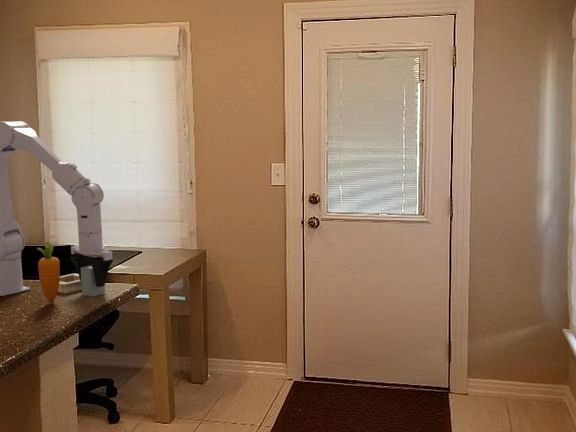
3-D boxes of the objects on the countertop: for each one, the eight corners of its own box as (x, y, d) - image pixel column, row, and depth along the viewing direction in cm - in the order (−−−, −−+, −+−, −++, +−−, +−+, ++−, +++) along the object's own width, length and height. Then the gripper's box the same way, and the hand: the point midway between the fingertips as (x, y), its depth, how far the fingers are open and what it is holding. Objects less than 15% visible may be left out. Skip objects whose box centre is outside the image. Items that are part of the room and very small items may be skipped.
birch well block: (45, 288, 171) (45, 279, 171) (75, 282, 178) (74, 273, 178) (65, 294, 165) (64, 284, 165) (95, 286, 172) (94, 277, 172)
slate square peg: (82, 294, 165) (80, 267, 164) (95, 291, 168) (93, 264, 167) (91, 296, 163) (90, 269, 162) (104, 293, 166) (103, 266, 165)
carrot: (55, 306, 154) (51, 244, 152) (36, 305, 155) (32, 244, 153) (66, 301, 159) (62, 241, 157) (47, 300, 160) (43, 240, 158)
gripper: (121, 232, 162) (123, 285, 164) (86, 227, 171) (89, 277, 173) (97, 236, 157) (100, 291, 158) (62, 231, 165) (65, 282, 167)
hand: (93, 284), depth 165 cm, fingers open, 6 cm apart
